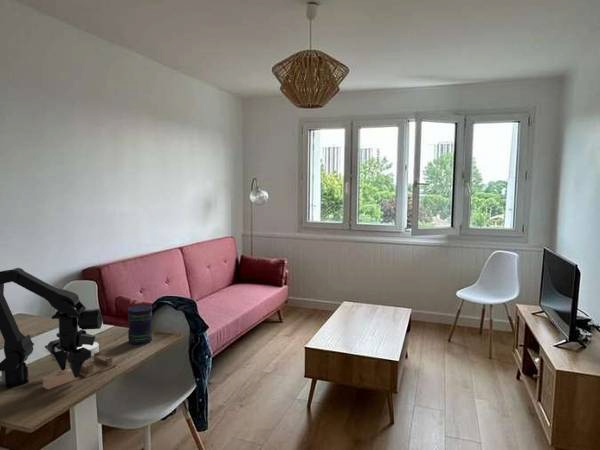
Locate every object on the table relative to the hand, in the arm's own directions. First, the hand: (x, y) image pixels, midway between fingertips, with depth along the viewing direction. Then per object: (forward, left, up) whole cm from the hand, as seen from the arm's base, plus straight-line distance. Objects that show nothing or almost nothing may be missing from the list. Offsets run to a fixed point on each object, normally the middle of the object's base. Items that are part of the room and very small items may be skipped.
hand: (69, 373), depth 141 cm
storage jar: (+35, +12, -2) cm, 38 cm away
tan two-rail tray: (+9, +2, -2) cm, 10 cm away
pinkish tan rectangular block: (-3, 0, -2) cm, 4 cm away
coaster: (+15, +18, -2) cm, 23 cm away
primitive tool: (+9, +29, -3) cm, 31 cm away
